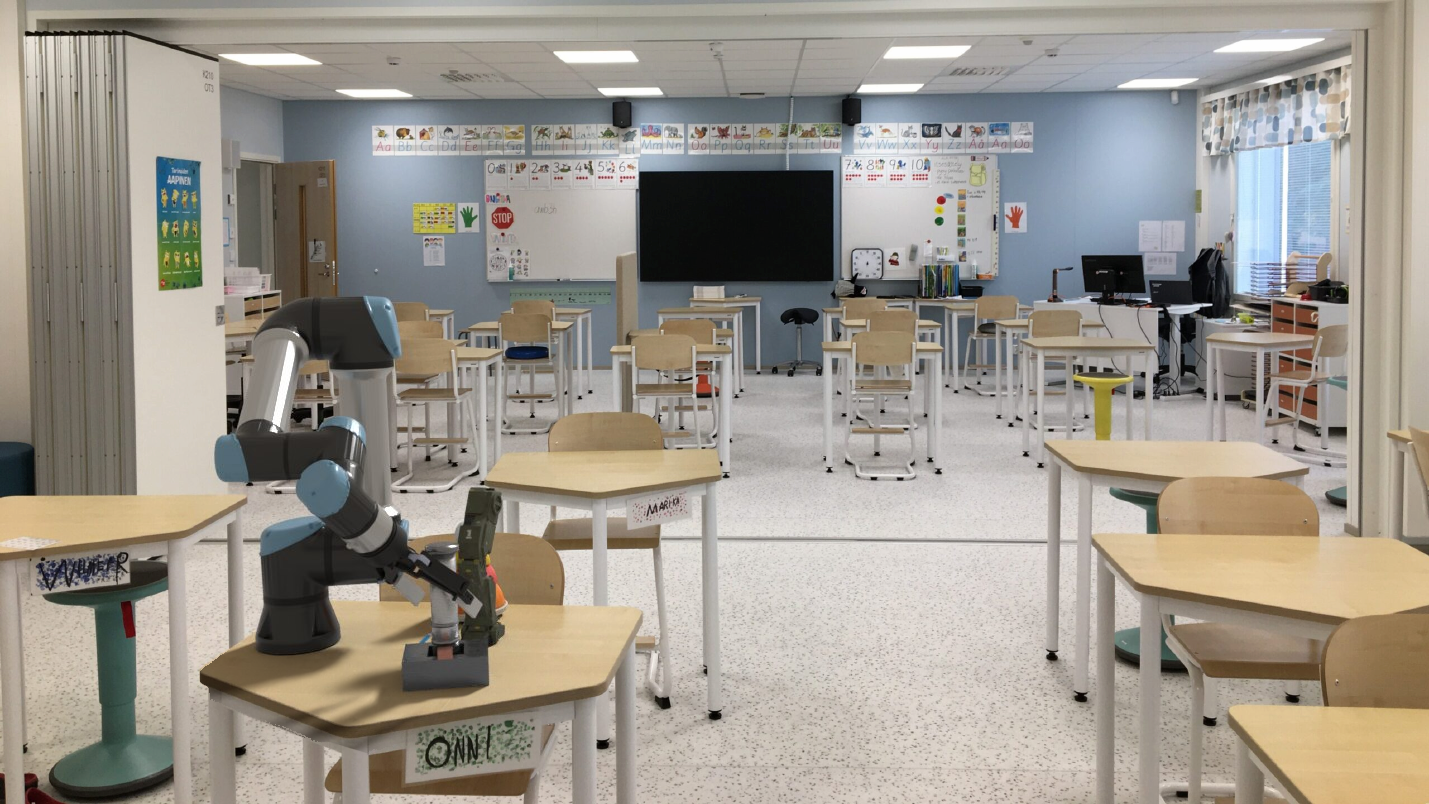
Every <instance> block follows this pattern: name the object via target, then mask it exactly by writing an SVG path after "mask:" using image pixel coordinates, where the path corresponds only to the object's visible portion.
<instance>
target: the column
mask: <svg viewBox="0 0 1429 804" xmlns="http://www.w3.org/2000/svg"><path fill="white" fill-rule="evenodd" d="M424 551H427V552H428V553H429V554H430V555H431V556H432V557H433V558H435V559H436V560H438V561H439V562H441V563H442V564H444V565H445V566H447V567H448V568H450V569H451V570H453V571H454V572H456V552H458V551H459V544H458V543H457V541H456V542H455V541H435V542H431V543H427V544H426V545H424ZM429 593H430V594H429V595H430V618H431V619H430V627H431V632H432V635H431V637H430V638H431V639H430V640H431V641H430V642H432V645H433V656H438V653H437V650H438V647H450V646H453V655H459V641H460V639H461V635H459V634H460V631H459V625H460V621H459V618H458V604H457V603H456V602H455V601H452V598H451V594H449V593H447V592H445V591H443V590H442V589H440V588H438V587H436V586H434V585H433V584H431V583H429Z"/></svg>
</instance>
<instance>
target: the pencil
mask: <svg viewBox="0 0 1429 804" xmlns="http://www.w3.org/2000/svg"><path fill="white" fill-rule="evenodd" d="M430 638H432V631H430V632H428V634H426V635H425V636H424V637H423V638H422V639H421V640H420V641H419V643H426V642H428V640H429V639H430Z"/></svg>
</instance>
